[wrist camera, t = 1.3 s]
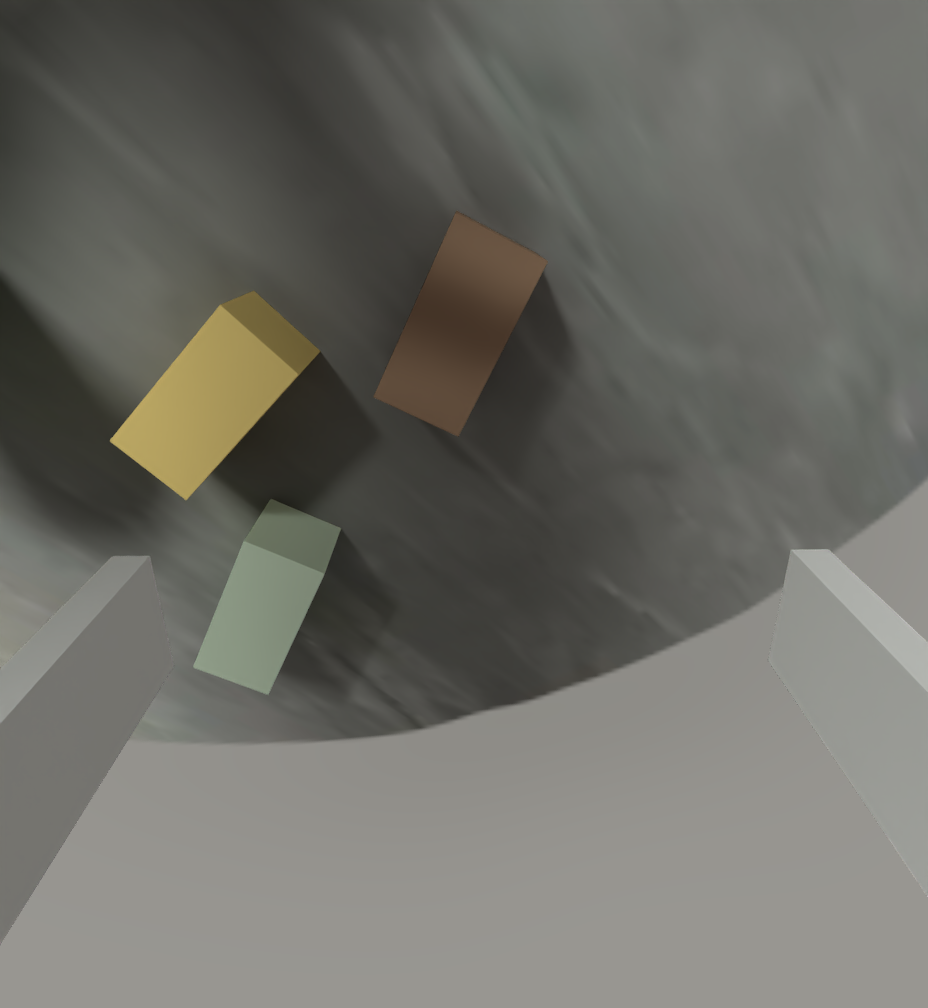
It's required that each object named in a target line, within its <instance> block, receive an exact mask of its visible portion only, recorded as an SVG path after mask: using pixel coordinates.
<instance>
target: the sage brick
mask: <svg viewBox="0 0 928 1008" xmlns="http://www.w3.org/2000/svg"><path fill="white" fill-rule="evenodd" d="M340 530H341V528H339V527H337V526H334V525H332V524H330V523H327V522H325V521H322V520H320V519H318V518H315V517H313V516H311V515H308V514H306V513H304V512H301V511H299V510H296V509H294V508H292V507H289V506H287V505H285V504H282V503H280V502H278V501H275V500H273V499H270V500H269V502H268V504H267V505H266V507H265V508H264V510H263V512H262V513H261V515H260V516H259V518H258V519H257V521H256V523H255V524H254V526H253V527H252V529H251V530H250V532H249V534H248V535H247V537H246V538H245V540H244V542H243V544H242V547H241V549H240V552H239V554H238V557H237V559H236V562H235V564H234V567H233V569H232V572H231V574H230V577H229V579H228V582H227V584H226V587H225V589H224V592H223V594H222V597H221V599H220V602H219V604H218V606H217V609H216V611H215V614H214V616H213V619H212V621H211V624H210V626H209V629H208V631H207V634H206V636H205V639H204V641H203V644H202V646H201V649H200V651H199V654H198V656H197V659H196V661H195V664H194V666H193V668H196V669H199V670H201V671H204V672H207V673H209V674H212V675H215V676H218V677H220V678H223V679H226V680H229V681H231V682H234V683H237V684H240V685H242V686H245V687H248V688H251V689H253V690H256V691H259V692H262V693H264V694H267V695H268V694H269V692H270V690H271V688H272V686H273V683H274V681H275V679H276V677H277V675H278V673H279V671H280V668H281V666H282V664H283V662H284V660H285V658H286V656H287V654H288V651H289V649H290V647H291V645H292V643H293V641H294V639H295V636H296V634H297V632H298V630H299V628H300V626H301V624H302V621H303V619H304V617H305V615H306V613H307V611H308V609H309V606H310V604H311V602H312V600H313V598H314V596H315V594H316V591H317V589H318V587H319V585H320V583H321V581H322V579H323V576H324V574H325V572H326V569H327V566H328V563H329V561H330V558H331V555H332V552H333V550H334V547H335V544H336V541H337V538H338V536H339V533H340Z"/></svg>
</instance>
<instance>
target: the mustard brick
mask: <svg viewBox="0 0 928 1008" xmlns="http://www.w3.org/2000/svg"><path fill="white" fill-rule="evenodd" d="M319 352H320V350H319V349H317V348H316V347H315V346H314V345H313V344H312V343H311V342H310V341H309V340H308V339H306V338H305V337H304V336H303V335H302V334H301V333H300V332H299V331H298V330H297V329H295V328H294V327H293V326H292V325H291V324H290V323H289V322H288V321H287V320H286V319H284V318H283V317H282V316H281V315H280V314H279V313H278V312H277V311H276V310H275V309H274V308H272V307H271V306H270V305H269V304H268V303H267V302H266V301H265V300H264V299H263V298H261V297H260V296H259V295H258V294H257V293H256V292H255V291H252V292H250V293H247V294H245V295H243V296H240V297H238V298H235V299H233V300H231V301H228V302H226V303H223V304H221V305H220V306H219V307H218V308H217V309H216V311H215V312H214V313H213V314H212V316H211V317H210V318H209V319H208V320H207V322H206V323H205V324H204V325H203V327H202V328H201V329H200V330H199V332H198V333H197V334H196V335H195V336H194V338H193V339H192V340H191V341H190V343H189V344H188V345H187V346H186V347H185V349H184V350H183V351H182V352H181V354H180V355H179V356H178V357H177V359H176V360H175V361H174V362H173V363H172V365H171V366H170V367H169V368H168V370H167V371H166V372H165V373H164V375H163V376H162V377H161V378H160V379H159V381H158V382H157V383H156V384H155V386H154V387H153V388H152V389H151V390H150V392H149V393H148V394H147V395H146V397H145V398H144V399H143V400H142V402H141V403H140V404H139V405H138V406H137V408H136V409H135V410H134V411H133V413H132V414H131V415H130V416H129V418H128V419H127V420H126V421H125V422H124V424H123V425H122V426H121V427H120V429H119V430H118V431H117V432H116V433H115V435H114V436H113V437H112V438H111V440H110V442H111V443H113V444H114V445H115V446H117V447H118V448H119V449H121V450H122V451H123V452H124V453H126V454H127V455H128V456H130V457H131V458H132V459H133V460H135V461H136V462H137V463H139V464H140V465H141V466H143V467H144V468H145V469H146V470H148V471H149V472H150V473H152V474H153V475H154V476H155V477H157V478H158V479H159V480H161V481H162V482H163V483H165V484H166V485H167V486H168V487H170V488H171V489H172V490H174V491H175V492H176V493H178V494H179V495H180V496H181V497H183V498H184V499H185V500H187V499H188V498H189V497H190V495H191V494H192V493H193V492H194V491H195V490H196V489H197V488H198V487H199V486H200V485H201V484H202V483H203V481H204V480H205V479H206V478H207V477H208V476H209V475H210V474H211V473H212V472H213V471H214V470H215V468H216V467H217V466H218V465H219V464H220V463H221V462H222V461H223V460H224V459H225V457H226V456H227V455H228V454H229V453H230V452H231V451H232V450H233V449H234V447H235V446H236V445H237V444H238V443H239V442H240V441H241V440H242V438H243V437H244V436H245V435H246V434H247V433H248V432H249V431H250V430H251V428H252V427H253V426H254V425H255V424H256V423H257V422H258V421H259V419H260V418H261V417H262V416H263V415H264V414H265V413H266V412H267V411H268V409H269V408H270V407H271V406H272V405H273V404H274V403H275V402H276V400H277V399H278V398H279V397H280V396H281V395H282V394H283V393H284V392H285V390H286V389H287V388H288V387H289V386H290V385H291V384H292V383H293V381H294V380H295V379H296V378H297V377H298V376H299V375H300V374H301V373H302V371H303V370H304V369H305V368H306V367H307V366H308V365H309V364H310V362H311V361H312V360H313V359H314V358H315V357H316V356H317V355H318V354H319Z"/></svg>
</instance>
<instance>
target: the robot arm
mask: <svg viewBox="0 0 928 1008" xmlns="http://www.w3.org/2000/svg"><path fill="white" fill-rule="evenodd" d="M768 662H769V663H770V664H771V666H772V667H773V669H774V670H775V672H776V673H777V675H778V676H779V678H780V679H781V681H782V682H783V684H784V685H785V687H786V688H787V690H788V691H789V692H790V694H791V696H792V697H793V699H794V700H795V702H796V703H797V705H798V706H799V707H800V709H801V710H802V712H803V713H804V715H805V716H806V718H807V719H808V721H809V722H810V724H811V725H812V727H813V728H814V730H815V731H816V732H817V734H818V736H819V737H820V739H821V740H822V742H823V743H824V744H825V746H826V747H827V749H828V750H829V752H830V753H831V755H832V756H833V758H834V759H835V761H836V762H837V764H838V765H839V767H840V768H841V770H842V771H843V773H844V774H845V776H846V777H847V779H848V780H849V781H850V783H851V784H852V786H853V787H854V789H855V790H856V792H857V793H858V795H859V796H860V798H861V799H862V801H863V802H864V804H865V805H866V807H867V808H868V810H869V811H870V813H871V814H872V816H873V817H874V819H875V820H876V822H877V823H878V825H879V826H880V827H881V829H882V830H883V832H884V833H885V835H886V836H887V838H888V839H889V841H890V842H891V844H892V845H893V847H894V848H895V850H896V851H897V853H898V854H899V856H900V857H901V859H902V860H903V862H904V863H905V865H906V866H907V868H908V869H909V871H910V872H911V874H912V875H913V876H914V878H915V879H916V881H917V882H918V884H919V885H920V887H921V888H922V890H923V891H924V893H925V894H926V896H927V897H928V642H927V641H926V640H925V639H924V638H923V637H922V636H920V635H919V634H918V633H917V632H916V631H915V630H914V629H913V628H912V627H911V626H910V625H909V624H908V623H907V622H906V621H904V620H903V619H902V618H901V617H900V616H899V615H898V614H897V613H896V612H895V611H894V610H893V609H892V608H891V607H889V606H888V605H887V604H886V603H885V602H884V601H883V600H882V599H881V598H880V597H879V596H878V595H877V594H875V593H874V592H873V591H872V590H871V589H870V588H869V587H868V586H867V585H866V584H865V583H864V582H863V581H862V580H861V579H860V578H858V577H857V576H856V575H855V574H854V573H853V572H852V571H851V570H850V569H849V568H848V567H847V566H846V565H845V564H844V563H842V562H841V561H840V560H839V559H838V558H837V557H836V556H835V555H834V554H833V553H832V552H831V551H830V550H829V549H819V550H791V552H790V557H789V562H788V567H787V571H786V576H785V581H784V586H783V590H782V595H781V600H780V605H779V610H778V614H777V619H776V624H775V629H774V633H773V638H772V643H771V648H770V652H769V657H768ZM173 667H174V662H173V658H172V653H171V649H170V644H169V640H168V635H167V631H166V626H165V622H164V617H163V613H162V608H161V604H160V599H159V595H158V590H157V586H156V581H155V577H154V572H153V568H152V563H151V559H150V556H112V557H111V558H110V559H109V560H108V561H107V562H106V563H105V564H104V565H103V566H102V567H101V568H100V569H99V570H98V571H97V572H96V573H95V574H94V575H93V576H92V577H91V578H90V579H89V580H88V581H87V582H86V583H85V584H84V585H83V586H82V587H81V588H80V589H79V590H78V591H77V592H76V593H75V594H74V595H73V596H72V597H71V598H70V599H69V600H68V601H67V602H66V603H65V604H64V605H63V606H62V607H61V608H60V609H59V610H58V611H57V612H56V613H55V614H54V615H53V616H52V617H51V618H50V619H49V620H48V621H47V622H46V623H45V624H44V625H43V626H42V627H41V628H40V629H39V630H38V631H37V632H36V633H35V634H34V635H33V636H32V637H31V638H30V639H29V640H28V641H27V642H26V643H25V644H24V645H23V646H22V647H21V648H20V649H19V650H18V651H17V652H16V653H15V654H14V655H13V656H12V657H11V658H10V659H9V660H8V661H7V662H6V663H5V664H4V665H3V666H2V667H1V668H0V944H1V943H2V941H3V939H4V938H5V936H6V935H7V933H8V932H9V930H10V928H11V927H12V925H13V924H14V922H15V920H16V918H17V917H18V916H19V914H20V912H21V911H22V909H23V908H24V906H25V904H26V903H27V901H28V900H29V898H30V896H31V895H32V893H33V891H34V890H35V888H36V887H37V885H38V884H39V882H40V880H41V879H42V877H43V875H44V874H45V872H46V871H47V869H48V867H49V866H50V864H51V863H52V861H53V859H54V858H55V856H56V854H57V853H58V851H59V850H60V848H61V847H62V845H63V843H64V842H65V840H66V839H67V837H68V835H69V834H70V832H71V831H72V829H73V827H74V826H75V824H76V823H77V821H78V819H79V817H80V816H81V815H82V813H83V811H84V810H85V808H86V806H87V805H88V803H89V802H90V800H91V799H92V797H93V795H94V793H95V792H96V791H97V789H98V787H99V786H100V784H101V782H102V781H103V779H104V778H105V776H106V775H107V773H108V771H109V770H110V768H111V766H112V765H113V763H114V762H115V760H116V758H117V757H118V755H119V754H120V752H121V750H122V749H123V747H124V746H125V744H126V742H127V741H128V739H129V738H130V736H131V734H132V733H133V731H134V730H135V728H136V726H137V725H138V723H139V722H140V720H141V718H142V717H143V715H144V714H145V712H146V710H147V709H148V707H149V706H150V704H151V702H152V701H153V699H154V698H155V696H156V694H157V693H158V691H159V690H160V688H161V686H162V685H163V683H164V682H165V680H166V678H167V677H168V675H169V674H170V672H171V670H172V669H173Z"/></svg>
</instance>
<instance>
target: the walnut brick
mask: <svg viewBox="0 0 928 1008" xmlns="http://www.w3.org/2000/svg"><path fill="white" fill-rule="evenodd" d="M547 263H548V261H547V260H545V259H544V258H542V257H541V256H540V255H538V254H537V253H535V252H533V251H531V250H529V249H527V248H526V247H524V246H522V245H520V244H518V243H516V242H514V241H512V240H511V239H509V238H507V237H505V236H503V235H501V234H499V233H498V232H496V231H494V230H492V229H490V228H488V227H486V226H484V225H483V224H481V223H479V222H477V221H475V220H473V219H471V218H469V217H468V216H466V215H464V214H462V213H460V212H458V211H456V213H455V215H454V217H453V219H452V222H451V224H450V226H449V228H448V230H447V233H446V235H445V237H444V239H443V242H442V244H441V246H440V248H439V251H438V253H437V255H436V257H435V260H434V262H433V264H432V266H431V269H430V271H429V273H428V275H427V278H426V280H425V282H424V284H423V286H422V289H421V291H420V293H419V295H418V298H417V300H416V302H415V304H414V307H413V309H412V311H411V313H410V316H409V318H408V320H407V322H406V325H405V327H404V329H403V331H402V334H401V336H400V338H399V340H398V342H397V345H396V347H395V349H394V351H393V354H392V356H391V358H390V360H389V363H388V365H387V367H386V369H385V372H384V374H383V376H382V378H381V381H380V383H379V385H378V388H377V390H376V392H375V394H374V398H376V399H378V400H380V401H383V402H385V403H387V404H389V405H391V406H393V407H396V408H398V409H400V410H402V411H404V412H406V413H408V414H411V415H413V416H415V417H417V418H419V419H421V420H423V421H426V422H428V423H430V424H432V425H434V426H436V427H438V428H441V429H443V430H445V431H447V432H449V433H451V434H454V435H456V436H458V437H459V435H460V433H461V431H462V429H463V427H464V425H465V423H466V421H467V419H468V417H469V415H470V413H471V411H472V409H473V407H474V405H475V403H476V401H477V399H478V398H479V396H480V394H481V392H482V390H483V388H484V386H485V384H486V382H487V380H488V378H489V376H490V374H491V372H492V370H493V368H494V366H495V364H496V362H497V360H498V358H499V356H500V354H501V353H502V351H503V349H504V347H505V345H506V343H507V341H508V339H509V337H510V335H511V333H512V331H513V329H514V327H515V325H516V323H517V321H518V319H519V317H520V315H521V313H522V311H523V309H524V308H525V306H526V304H527V302H528V300H529V298H530V296H531V294H532V292H533V290H534V288H535V286H536V284H537V282H538V280H539V278H540V276H541V274H542V272H543V270H544V268H545V266H546V264H547Z"/></svg>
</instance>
